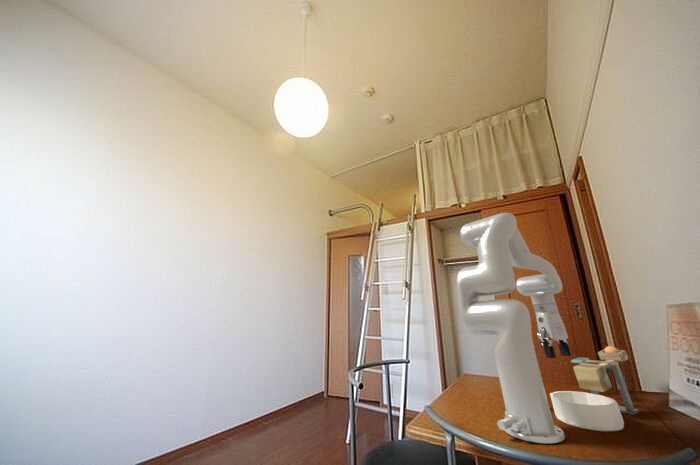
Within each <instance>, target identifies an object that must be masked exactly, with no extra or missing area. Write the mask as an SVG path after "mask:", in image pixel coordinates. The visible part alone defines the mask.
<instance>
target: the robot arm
mask: <svg viewBox="0 0 700 465" xmlns="http://www.w3.org/2000/svg"><path fill="white" fill-rule="evenodd" d="M517 224H518V223H517V219H516V217H515V215H514V214H513V213H510V212H501V213H497V214H494V215H491V216H487V217H484V218H482V219H478V220H475V221H472V222H468V223H466V224H464V225H462V226H461V229H460V230H459V232H460V233H459V234H460V238H461V241H462V242H463V244H465V246H467V247H469V248H470V249H475V250H476V252H477V258H478V264H477V265H472V266H466V267H464V268H463V267H462V268H461V269H460V270H459V271H458V272H457V274H456V279H455V281H456V282H455V283H456V292H457V298H458V306H459V314H460V319H461V324H462V326H463V328H464V329H465V331H466V332H467V333H469V334H471V335H474V336H475V335H476V336H498V337H499V336H500V338H499V340H498V342H497V343H496V346H495V349H494V351H493V353H494V358H495V359H494V360H495V364H496V368H497V374H498V378H499V382H500V384H499V385H500V389H501V393H502V397H503V403H504V406H505V411H504V415H505V416H504V418H502V419H499V420H497V421H496V424H497V427H498V429H500V430H501V431H504V432H505V433H507V434H508V435H510V436H512V437H513V438H517V439H519V440H521V441H525V442H529V443H530V442H531V443H536V444H558V443H562V442H563V441H564V440H565V438H566V435H565V432H564V431H563V429H562V428H561V427H559V426H557V425H555V424H554V420H553V417H552V414H551V413H552V412H551V408H550V404H549V402H548V401H549V400H548V397H547V393H546V390H545V386H544V382H543V378H542V374H541V369H540V366H539V362H538V359H537V358H538V357H537V354H536V349H535V345H534V340H533V335H532V323H531V315H530V311H529V309H528V307H527V305H526V304H525V303H523V302H522V301H520V300H517V299H514V298H513V299H512V298H500V299H488V300H479V299H480V298H481V297H489V296H490V297H492V296H500V295H506V294H511V293H512V292H514V291H515V289H516V290H517V291H518V292H519V294H520V295H522V296H525V297H530V299H531V304H532V306H533V310H534V314H535V318H536V323H537V329H538V332H537V334H536V335H537V337H538V339H539V342H540V343H541V345H542V346H543V350H544V354H545V357H546V358H547V359H556V358H557V355H556V352H555V347H554V346H552V345H553V341H557V343H558V344H557V346H558V350H559V352H560V355H561V356H565V357H572V354H571V350H570V346H569V341H568V339H569V336H568V332H567V330H566V326H565V324H564V321H563V319H562V317H561V315H560V313H559V310H558V306H557V304H556V300H555V297H554V295H557V294H559V293H561V292H562V290H563V283H562V282H563V281H562V280H561V278H560V276H559V274H558V271H557V270H556V268H555V266H553V264H552V263H551V262H549V261H548V260H546V259H545V258H543V257H541V256H539V255H537V254H534V253H531V251H530V249H529V247H528V245H527V243H526V241H525V238H523V235H522V234H521V232H520V231H519V229H518V227H517V226H518V225H517ZM513 267H515V268H519V269H525V270H532V271H534V272H535V271H536V272H539V273H542V274H535V275H529V276H522V277H520V278H518V279H517V280H516V277H515V273H514V268H513Z"/></svg>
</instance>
